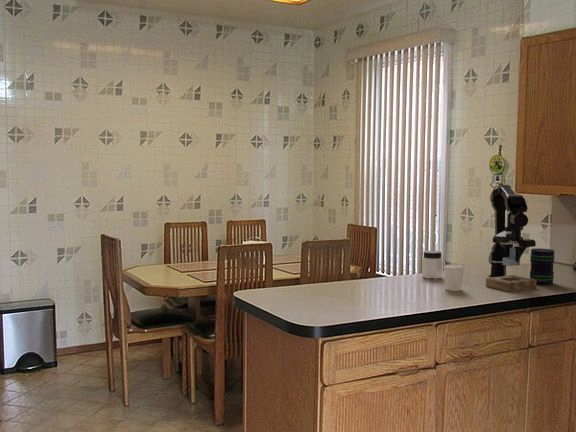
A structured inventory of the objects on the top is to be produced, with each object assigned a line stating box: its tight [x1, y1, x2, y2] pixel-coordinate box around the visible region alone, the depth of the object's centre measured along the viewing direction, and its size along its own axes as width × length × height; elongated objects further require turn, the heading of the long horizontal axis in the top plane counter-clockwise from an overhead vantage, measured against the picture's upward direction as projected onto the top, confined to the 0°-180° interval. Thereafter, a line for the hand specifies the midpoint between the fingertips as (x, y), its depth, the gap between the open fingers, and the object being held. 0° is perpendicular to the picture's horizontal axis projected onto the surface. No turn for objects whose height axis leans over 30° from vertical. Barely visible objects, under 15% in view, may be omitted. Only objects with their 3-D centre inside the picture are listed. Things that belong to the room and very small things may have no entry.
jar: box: [421, 250, 443, 280], centre depth 291 cm, size 9×8×12 cm
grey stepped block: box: [501, 247, 521, 267], centre depth 268 cm, size 6×4×7 cm, turn 118°
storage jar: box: [529, 247, 555, 287], centre depth 277 cm, size 10×10×15 cm
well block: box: [485, 274, 537, 293], centre depth 268 cm, size 16×13×4 cm
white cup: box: [443, 264, 465, 292], centre depth 263 cm, size 8×8×10 cm
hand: (512, 261), depth 268 cm, fingers closed on grey stepped block, 4 cm apart
